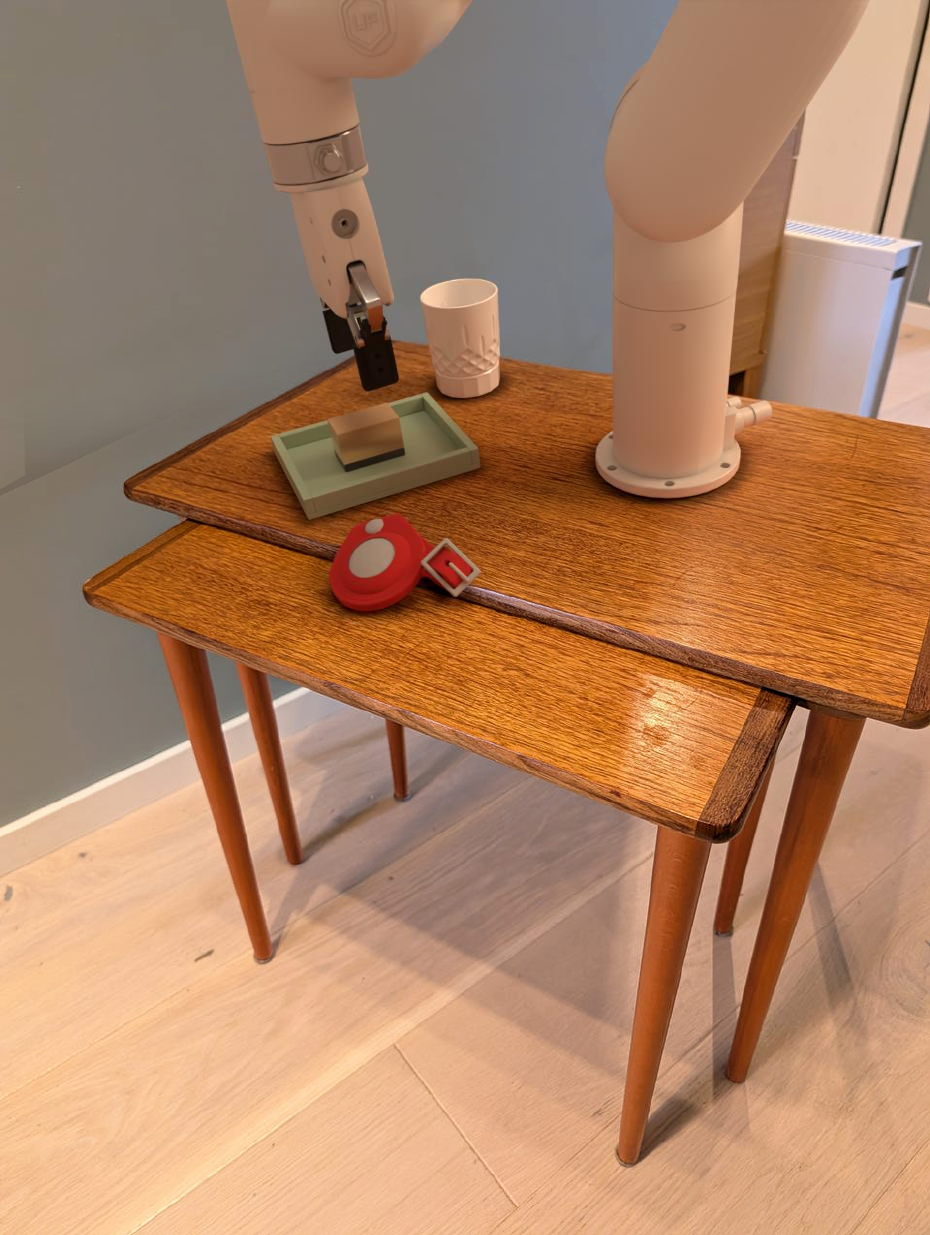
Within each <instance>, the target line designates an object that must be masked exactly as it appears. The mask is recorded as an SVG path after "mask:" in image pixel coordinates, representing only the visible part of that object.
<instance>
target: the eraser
mask: <svg viewBox="0 0 930 1235" xmlns="http://www.w3.org/2000/svg"><path fill="white" fill-rule="evenodd" d="M388 403H389V402H384V403H380V404H377V405H373V406H369V407H365V408H362V409H358V410H354V411H351V412H347V413H345V414H344V413H343V414H341V415H338V416H333V417H330V418H327V420H328V425H329V429H330V434H331V438H332V443H333V447H334V451H335V456H336V457H337V459H338V461H339V462H340V464H341V466H342V467H343V469H344V470H345V472H349V471H353V470H356V469H359V468H363V467H366V466H370V465H373V464H376V463H380V462H383V461H387V460H390V459H393V458H397V457H400V456H404V455H405V449H404V443H403V437H402V431H401V425H400V419H399V417H398V415H397V414H396V413H395V412H394V410H393V409H392V408H391V407H390V405H389V404H388Z"/></svg>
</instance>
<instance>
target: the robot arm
mask: <svg viewBox="0 0 930 1235" xmlns="http://www.w3.org/2000/svg"><path fill="white" fill-rule="evenodd" d="M472 1H473V0H225V2H226V6H227V11H228V15H229V19H230V22H231V27H232V30H233V34H234V38H235V41H236V46H237V51H238V53H239V58H240V61H241V66H242V69H243V74H244V77H245V80H246V85H247V88H248V92H249V95H250V100H251V103H252V107H253V111H254V115H255V119H256V123H257V126H258V130H259V133H260V138H261V141H262V145H263V149H264V153H265V157H266V161H267V165H268V169H269V172H270V176H271V179H272V184H273V188H274V190H275V191H277V192H279V193H286V194H289V198H290V205H291V206H292V211H293V215H294V220H295V225H296V229H297V233H298V238H299V241H300V246H301V249H302V254H303V256H304V261H305V264H306V268H307V271H308V274H309V278H310V281H311V284H312V286H313V289H314V290H315V292H316V294H317V295H318V296H319V300H320V304H321V306H322V309H323V310H322V315H323V319H324V320H323V321H324V324H325V328H326V332H327V336H328V339H329V343H330V348H331V351H332V352H333V353H334V354H336V355H338V354H343V353H347V352H349V351H352V350H353V354H354V359H355V363H356V367H357V372H358V376H359V380H360V384H361V385H360V386H361V388H362V389H363V390H364V392H372V391H376V390H378V389H382V388H385V387H388V386H391V385H394V384H395V385H396V384H397V383H399V380H400V376H399V371H398V370H399V369H398V364H397V361H396V357H395V356H396V355H395V350H394V346H393V341H392V337H391V332H390V329H389V327H388V320H387V319H386V317H385V315H384V309H383V308H384V307H383V306H385V307H390V306H392V305H393V303H394V300H395V297H394V292H393V291H394V290H393V287H392V286H393V285H392V282H391V278H390V274H389V270H388V267H387V262H386V258H385V254H384V249H383V244H382V241H381V238H380V234H379V233H380V232H379V229H378V225H377V222H376V218H375V213H374V210H373V207H372V203H371V200H370V197H369V194H368V191H367V188H366V185H365V182H364V180H363V177H365V175H366V174H368V172H369V170H370V168H369V162H368V158H367V152H366V148H365V143H364V138H363V133H362V128H361V123H360V117H359V113H358V107H357V103H356V97H355V92H354V88H353V87H354V86H353V82H352V79H367V80H376V79H377V80H381V79H389V78H393V77H396V76H399V75H401V74H404V73H406V72H407V71H409V70H410V69H411V68H413V67H414V66H415V65H417V64H418V63H419V62H421V61H422V60H423V59H424V58H425V57H426V56H427V55H428V54H429V53H430V52H432V51H433V50H435V48H437V47H438V46H439V45H441V43H443V41H445V39H446V38H447V37H448V36H449V34H450V33H451V32H452V31H453V29H454V27H455V26H456V25H457V24H458V22H459V21H460V20H461V18H462V16H463V15H464V14H465V13H466V11H467V9H468V7H469V6H470V5H471V3H472ZM869 3H870V0H679V1H678V2H677V5H676V7H675V9H674V11H673V12H672V14H671V16H670V19H669V20H668V22H667V24H666V26H665V28H664V30H663V32H662V34H661V36H660V38H659V40H658V41H657V43H656V46H655V47H654V49H653V52H652V53H651V55H650V57H649V59H648V61H646V62H645V63H644V64H643V65H641V66H640V67H639V68H638V69H637V70H636V72H635V73H634V74H633V75H632V76H631V78H630V79H629V81H628V82H627V84H626V85H625V86H624V89H622V92H621V93H620V95H619V98H618V100H617V103H616V106H615V108H614V112H613V115H612V119H611V122H610V128H609V132H608V136H607V139H606V143H605V150H604V158H603V175H604V183H605V187H606V188H605V189H606V192H607V195H608V198H609V200H610V204H611V205H612V210H613V212H612V216H613V217H612V431H610V432H609V433H607V434H606V435H605V436H603V438H602V439H601V440H600V441H599V442H598V444H597V446H596V448H595V466H596V467H595V468H596V470H597V472H598V474H599V475H600V477H602V479H603V480H604V481H606V482H607V483H608V484H610V485H612V486H613V487H615V488H617V489H619V490H621V491H623V492H625V493H629V494H632V495H636V496H640V497H647V498H653V499H680V498H687V497H694V496H697V495H702V494H705V493H708V492H711V491H713V490H715V489H718V488H719V487H721V486H723V485H724V484H726V483H728V482H729V481H730V480H731V479H732V478H733V477H734V476H736V473H737V472H738V470H739V468H740V463H741V455H742V454H741V452H742V451H741V447H740V445H739V442H738V441H737V439H735V436H737V435H741V433H742V432H743V430H744V429H746V428H749V427H750V428H751V427H754V426H757V425H760V424H764V423H766V422H770V421H771V420H772V418H773V407H772V406H771V404H770V402H768V401H767V400H759V401H756V402H752V403H750V404H747V405H745V406H744V407H743V402H742V400H741V398H740V397H739V396H737V395H735V396H732V397H728V394H729V382H730V369H731V357H732V348H733V347H732V345H733V336H734V335H733V334H734V324H735V323H734V322H735V321H734V320H735V310H736V300H737V289H738V282H739V271H740V260H741V258H740V257H741V246H742V233H743V232H742V230H743V219H744V218H743V217H744V204H745V202H744V201H745V200H746V198H748V196H749V194H750V193H751V192H752V190H753V189H754V187H756V185H757V183H758V181H759V180H760V179H761V177H762V176H763V174H764V173H765V171H766V169H767V168H768V167H769V166H770V164H771V162H772V161H773V160H774V159H775V156H776V155H777V154H778V152H779V150H781V147H782V146H783V145H784V143H785V141H786V140H787V138H788V137H789V135H790V133H791V132H792V130H793V129H794V128H795V126H796V125H797V123H798V122H799V120H800V119H801V117H802V116H803V113H805V111H806V110H807V108H808V106H809V104H811V102H812V101H813V98H814V97H815V95H816V94H817V92H818V91H819V90H820V88H821V87H822V85H823V83H824V82H825V80H826V79H827V77H828V75H829V74H830V72H831V70H832V69H833V68H834V66H835V65H836V64H837V62H838V60H839V58H840V57H841V55H842V54H843V52H844V50H845V49H846V47H847V46H848V43H849V42H850V41H851V39H852V38H853V36H854V34H855V32H856V30H857V28H858V26H859V24H860V22H861V20H862V18H863V16H864V14H865V12H866V10H867V8H868V5H869ZM358 303H359V304H358ZM362 317H363V319H361V318H362Z"/></svg>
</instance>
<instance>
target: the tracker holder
mask: <svg viewBox="0 0 930 1235" xmlns="http://www.w3.org/2000/svg"><path fill="white" fill-rule="evenodd" d="M445 546H447V547H448V548H447V547H445ZM449 548H450V549H451V550H450V549H449ZM481 573H482V570H481V569H480V568H478V566H477V565H476V564H475V563H474V562H473V561H472V560H471V559H469V557H467V555H465V554H464V552H462V551H461V550H460V549H459V548H458V547H457V546H456V545H455V544H454V543H453V542H452V541H451V540H450V539H449V538H448V537H446V538H444V539H443V540H442V541H441V542H440V543H438V544H437V545H436V546H434V545H432V544H431V543H430V542H429V541H428V540H427V539H425V538H424V537H423V536H422V535H420V533H418V531H417V530H416V528H414V527H413V526H412V524H411V523H410V522H409V521H408V520H407V519H406V517H405V516H404V515H402V514H401V513H399V512H397V513H392V514H389V515H385V516H381V517H378V518H374V519H371V520H367V521H364V522H360V523H358V524H356V525H354V526H353V527H352V528H351V529H350V530H349V532H348V534H347V536H346V537H345V539H344V540H343V542H342V543H341V545H340V547H339V549H338V551H337V552H336V555H335V557H334V559H333V561H332V563H331V567H330V569H329V572H328V574H329V575H328V582H329V585H330V589H331V591H332V593H333V595H334V596H335V597H336V599H337V600H338V601H339V603H341V604H342V605H344V607H345V608H346V607H347V608H349V609H351V610H354V611H356V612H357V611H359V612H373V611H374V612H375V611H379V610H383V609H387V608H388V607H390V606H392V605H394V604H396V603H398V602H399V601H401V600H402V599H404V598H406V597H407V595H408V594H410V593H411V592H412V591H413V590H414V589H415V588H416V586H417V585H418V584H419V582H420V580H421V579H422V578H428V579H429V580H431V582H433V583H434V584H435V585H437V586H439V587H440V588H442V589H443V590H445V591H447V592H448V593H450V595H452V597H454V598H457V597H459V595H460V594H461V593H462V592H464V591H465V589H466V588H467V587H469V585H470V584H471V583H473V581H474V580H476V579H477V578H478V577H479V576H480V575H481Z"/></svg>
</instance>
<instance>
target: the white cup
mask: <svg viewBox="0 0 930 1235" xmlns="http://www.w3.org/2000/svg"><path fill="white" fill-rule="evenodd" d="M419 301H420V306H421V307H420V308H421V312H422V317H423V322H424V323H423V324H424V328H425V333H426V340H427V345H428V349H429V352H430V359H431V362H432V366H433V369H434V374H435V376H434V377H435V379H436V380H435V381H436V387H437V389H438V390H439V392H440V393H441V394H442V395H445V396H447V397H450V398H455V399H456V398H457V399H470V398H476V397H481V396H484V395H487V394H489V393H491V392H492V391H494V390H495V389H496V388H498V386H499V384H500V379H501V373H500V370H501V369H500V358H501V352H500V348H501V343H500V342H501V341H500V339H501V337H500V335H501V334H500V316H499V315H500V313H499V311H500V310H499V288H498V286H497V285H496V284H495V283H494V282H492V281H489V280H486V279H481V278H457V279H450V280H446V281H443V282H439V283H436V284H433V285H431V286H429V287H427V288H426V289H425V290H423V291H422V292H421V294H420V295H419Z"/></svg>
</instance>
